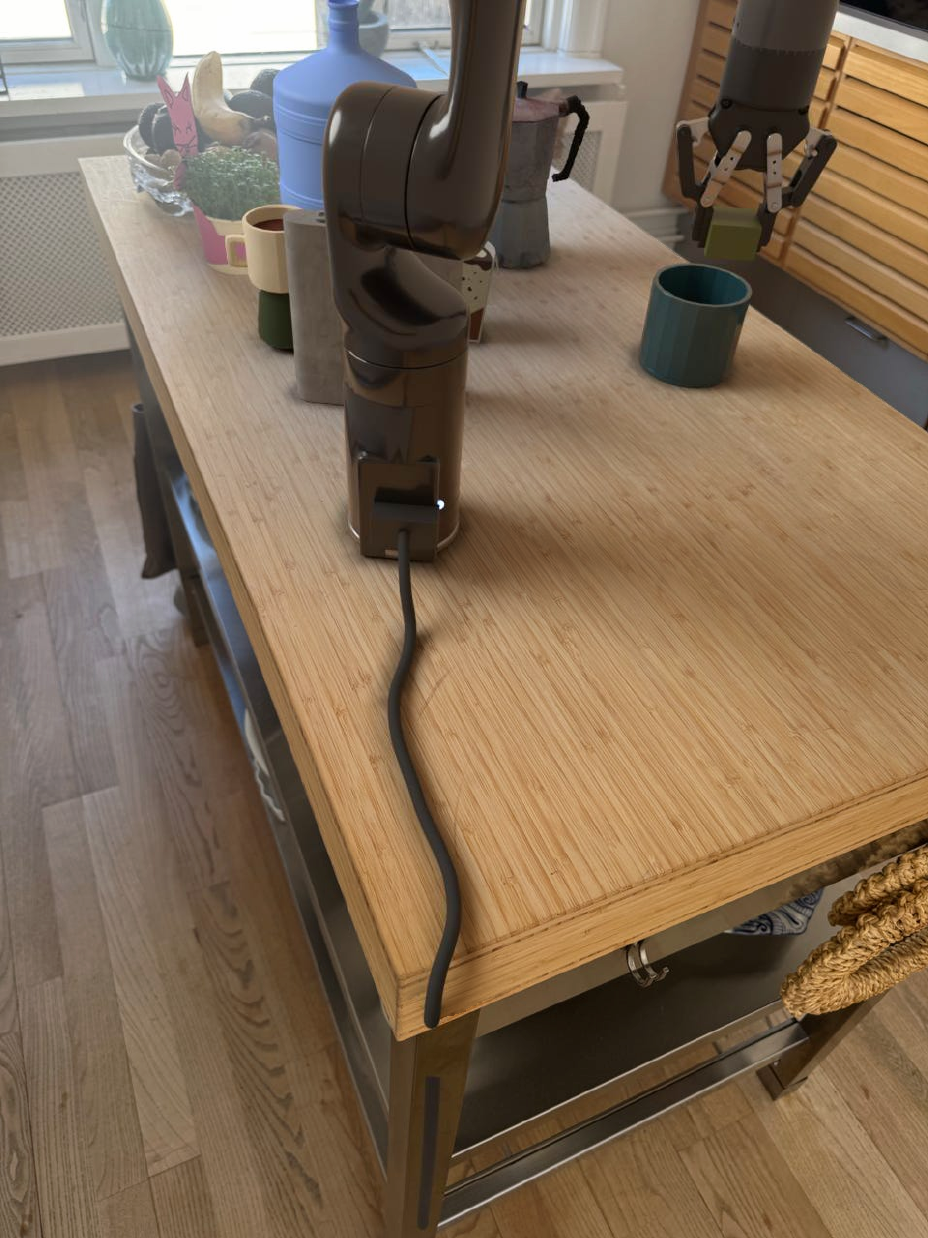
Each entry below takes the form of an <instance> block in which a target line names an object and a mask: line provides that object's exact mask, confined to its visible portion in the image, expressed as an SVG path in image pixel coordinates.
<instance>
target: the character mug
mask: <svg viewBox="0 0 928 1238" xmlns="http://www.w3.org/2000/svg"><path fill="white" fill-rule="evenodd" d="M295 209H302V208H299V207H296V206H290V205H282V204H269V205H262V206H259V207H254V208H253V209H251V210H249V211H246V212H245V213H244V215H243V216H242V218H241V219H242V220H241V221H242V222H241V223H242V229H243V230H242V232H243V234H236V233H235V234H234V233H233V234H231V233H230V234H226V235H225V238H224V243H225V250H226V259H227V263H228V265H229V266H230V267H233V268H247V274H248V278H249V280H250V282H251V284H252V285H253V286H254V287H256V288H257V289H259V292H258V312H257V314H258V316H257V321H258V322H257V323H258V324H257V325H258V326H257V327H258V328H257V329H258V330H257V331H258V335H259V338H260V339H261V340H262V341H263V342H264V343H266V344H267V345H269V346H271V347H274V348H277V349H292V350H294V346H293V334H292V321H291V309H290V297H289V285H288V272H287V260H286V248H285V236H284V223H283V215H284V214H285V213H286V212H288V211H290V210H295ZM236 245H244V251H245V257H239V256H238V255H237V246H236Z"/></svg>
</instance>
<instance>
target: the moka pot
mask: <svg viewBox="0 0 928 1238" xmlns="http://www.w3.org/2000/svg"><path fill="white" fill-rule="evenodd" d="M528 87H529V82H526V81H523V80H519V81H517V85H516V94H515V103H514V112H513V121H512V130H511V139H510V146H509V154H508V162H507V169H506V177H505V182H504V188H503V193H502V198H501V202H500V207H499V211H498V215H497V218H496V221H495V224H494V227H493V230H492V232H491V235H490V237H489V239H488V241H489V242H490V243H491V244H492V245H493V247H494V249H495V253H496V255H497V259H498V267H502V268H508V269H525V268H529V267H535V266H538V265H541V264H542V263H544V262H546V261H547V260H548V259H549V257H550V256H551V253H552V251H551V250H552V249H551V237H550V225H549V224H550V222H549V210H548V209H549V208H548V199H547V190H548V181H549V179H550V177H551V180H552V183H558V182H562V181H566V180H569V178H570V176H571V173H572V171H573V168H574V165H575V163H576V158H577V157H578V154H579V151H580V147H581V145H582V142H583V139H584V136H585V133H586V130H587V129H588V128H589V127H588V126H589V122H590V119H591V117H590V114H589V112H588V111H587V110H586V106H585V104H582V100H581V99H580V98H579V96H578V95H577V94H575V95H572V96H569V97H567V98H554V99H551V100H546V99H543V98H540V97H535V96H527V92H528ZM572 114H576V115H577V118H578V123H577V125H576V128H575V130H574V136H573V138H572V140H571V141H572V143H571V144H570V147H569V153H568V155H567V158H566V160H565V161H566V162H565V164H564V166H563V168H562V170H561V171H559V172H557V173H552V175H551V168H552V162H553V156H554V151H555V143H556V139H557V133H558V126H559V122H560V118H566V117H568V116H569V115H572ZM550 175H551V176H550Z"/></svg>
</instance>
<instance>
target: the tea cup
mask: <svg viewBox="0 0 928 1238" xmlns="http://www.w3.org/2000/svg"><path fill="white" fill-rule="evenodd" d="M752 296H753V289H752V287H751V284H750V283H749V282H748V281H747V280H746V279H745V278H744V277H742V276H740V275H738V274H737V273H735V272H733V271H730V270H728V269H725V268H722V267H718V266H715V265H709V264H704V263H691V262H690V263H688V262H687V263H675V264H671V265H667V266H663V267H662V268H660V269H659V270H657V271H656V273H655V274H654V276H653V278H652V283H651V288H650V293H649V298H648V301H647V302H648V303H647V307H646V313H645V317H644V322H643V328H642V332H641V337H640V343H639V347H638V354H637V360H638V364H639V366H640V367H641V369H642V370H643V371H644V372H646V374H648V375H649V376H651V377H653V378H654V379H656V380H658V381H661V382H663V383H667V384H670V385H673V386H678V387H684V388H707V387H712V386H715V385H719V384H720V383H723V382H725V380H726V379H727V378H728V377H729V376H730V373H731V369H732V367H733V364H734V361H735V356H736V354H737V353H736V352H737V349H738V347H739V346H738V345H739V342H740V338H741V335H742V331H743V328H744V323H745V320H746V317H747V313H748V311H749V307H750V303H751V300H752Z"/></svg>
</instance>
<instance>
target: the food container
mask: <svg viewBox="0 0 928 1238" xmlns="http://www.w3.org/2000/svg"><path fill="white" fill-rule="evenodd" d="M494 267H495V268H496V273H497V275H499V274H500V270H499V266H498V259H497V255H496V253H495V249H494V247H493V245H492V244H491V243H490V242H489V241H487V243H486V245H485V246H484V247H483V249H482V250H481V251H480V253H479V254H478V255H476V256H475V257H474V258H472V259H470V260H467V261H463V276H462V294H463V295H464V297H465V298H466V300H467V302H468V305H469V308H470V337H469V343H475V344H481V343H480V342H481V337H482V332H483V327H484V322H485V316H486V310H487V305H488V301H489V294H490V289H491V285H492V279H493V274H494V273H493V272H494Z"/></svg>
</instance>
